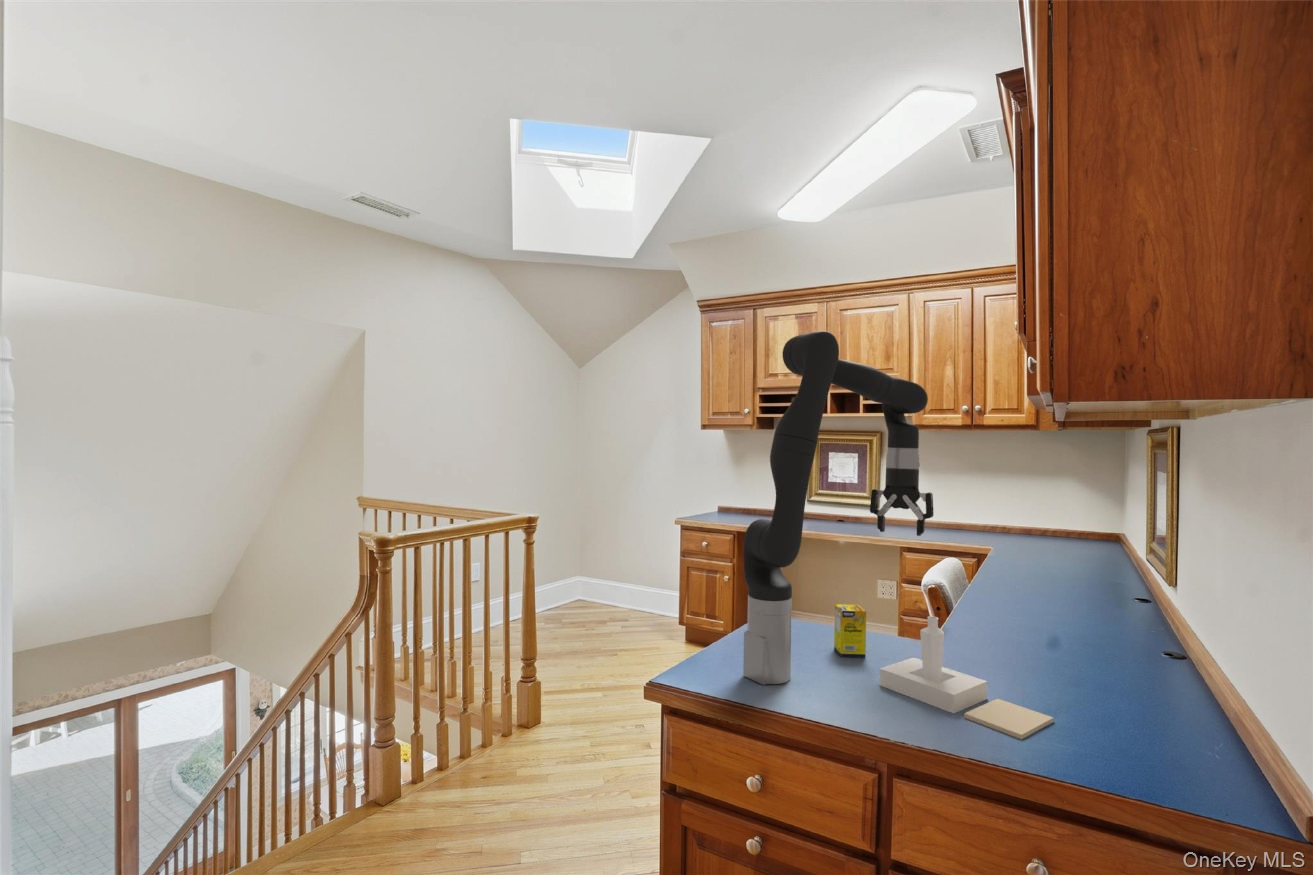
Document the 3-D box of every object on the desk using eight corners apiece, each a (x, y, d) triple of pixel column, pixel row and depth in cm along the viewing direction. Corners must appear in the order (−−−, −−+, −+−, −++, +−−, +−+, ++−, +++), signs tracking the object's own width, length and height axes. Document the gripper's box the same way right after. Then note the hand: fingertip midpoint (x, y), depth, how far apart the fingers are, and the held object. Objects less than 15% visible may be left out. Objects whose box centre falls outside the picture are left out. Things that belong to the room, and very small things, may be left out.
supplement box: (866, 657, 146) (866, 611, 146) (840, 657, 146) (841, 610, 146) (858, 649, 152) (859, 604, 152) (833, 648, 152) (834, 603, 152)
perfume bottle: (917, 692, 126) (918, 618, 126) (922, 685, 130) (923, 613, 130) (942, 698, 124) (943, 622, 124) (946, 691, 127) (947, 617, 127)
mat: (1021, 739, 107) (1021, 734, 107) (964, 717, 115) (964, 713, 115) (1053, 721, 114) (1053, 717, 114) (997, 702, 122) (997, 698, 122)
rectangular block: (953, 713, 117) (954, 694, 117) (879, 685, 130) (879, 668, 130) (986, 698, 124) (987, 681, 124) (913, 673, 137) (913, 657, 137)
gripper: (868, 465, 153) (866, 532, 153) (930, 468, 145) (928, 538, 145) (876, 465, 160) (874, 529, 159) (936, 468, 152) (934, 535, 151)
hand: (900, 533), depth 152 cm, fingers open, 8 cm apart
